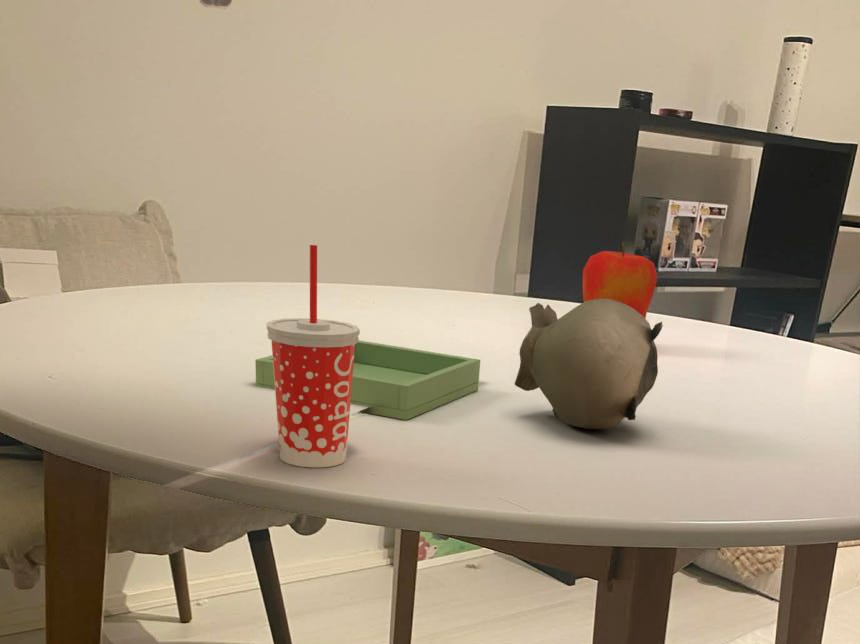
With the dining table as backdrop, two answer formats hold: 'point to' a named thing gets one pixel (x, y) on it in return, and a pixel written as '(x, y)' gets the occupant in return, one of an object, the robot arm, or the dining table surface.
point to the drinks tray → (399, 379)
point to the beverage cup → (313, 383)
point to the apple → (620, 279)
